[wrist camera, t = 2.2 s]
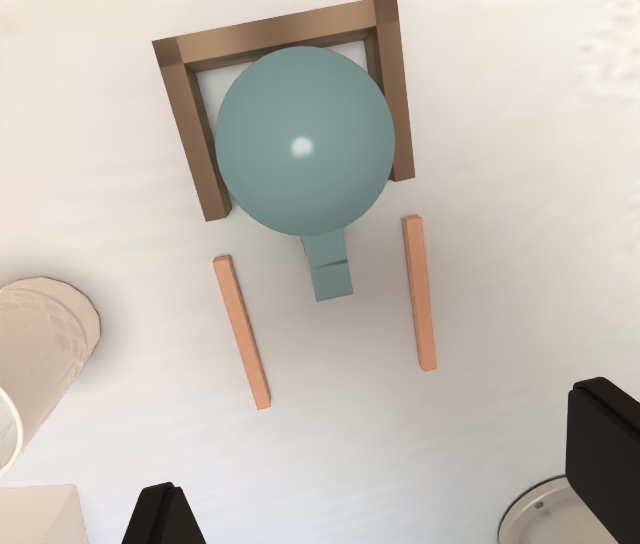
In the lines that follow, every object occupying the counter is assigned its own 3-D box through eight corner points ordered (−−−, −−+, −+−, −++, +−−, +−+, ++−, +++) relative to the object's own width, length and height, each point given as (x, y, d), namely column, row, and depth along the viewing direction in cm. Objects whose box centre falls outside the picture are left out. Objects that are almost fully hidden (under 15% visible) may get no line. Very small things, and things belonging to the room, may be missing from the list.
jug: (349, 61, 23) (382, 29, 16) (377, 248, 27) (412, 287, 20) (217, 88, 23) (190, 66, 16) (265, 272, 27) (261, 321, 20)
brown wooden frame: (381, 11, 22) (396, -7, 19) (399, 172, 25) (415, 177, 23) (167, 53, 22) (151, 41, 19) (213, 212, 25) (206, 221, 22)
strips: (416, 214, 26) (421, 217, 26) (431, 361, 31) (436, 368, 30) (214, 258, 26) (212, 262, 25) (258, 401, 30) (257, 410, 29)
